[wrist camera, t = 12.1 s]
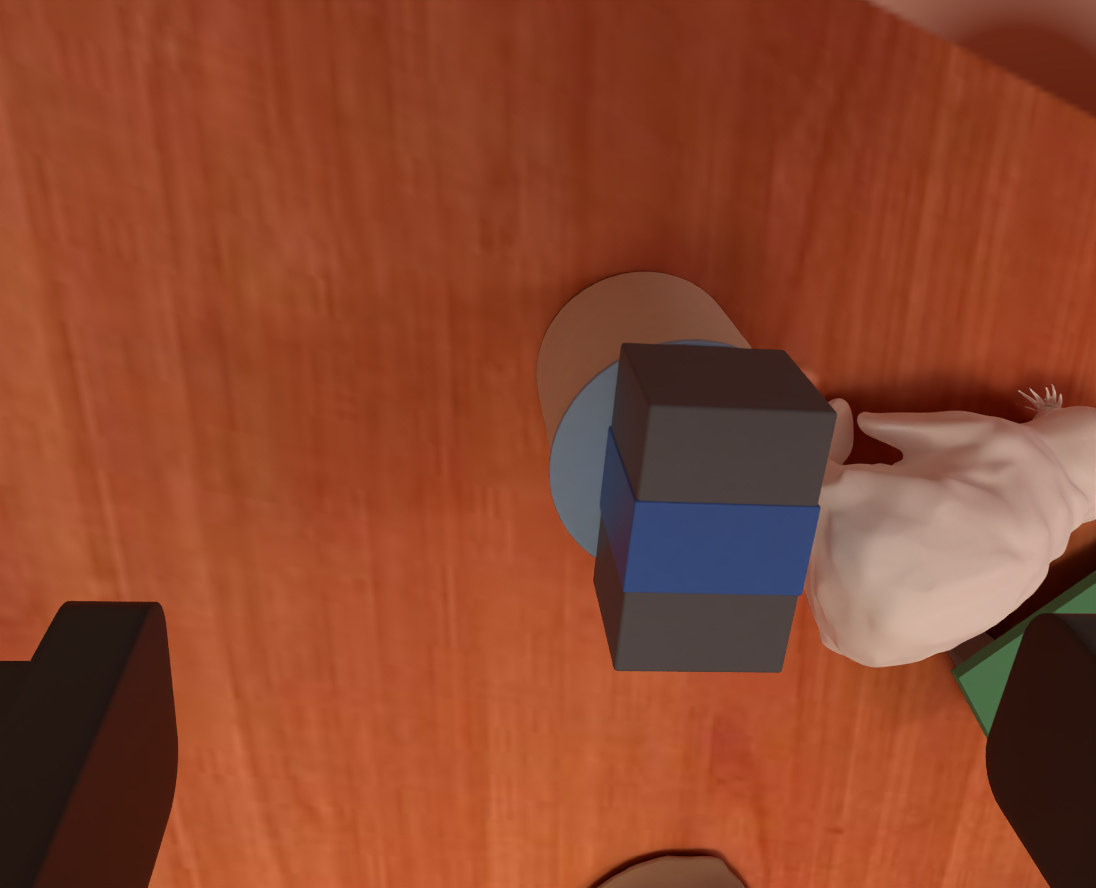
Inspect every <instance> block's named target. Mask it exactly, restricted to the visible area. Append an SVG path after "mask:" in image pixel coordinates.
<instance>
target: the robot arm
mask: <svg viewBox="0 0 1096 888" xmlns="http://www.w3.org/2000/svg"><path fill="white" fill-rule="evenodd" d="M177 766H178V736H177V726H176V716H175V706H174V697H173V687H172V677H171V667H170V658H169V648H168V638H167V628H166V621H165V615H164V612H163V609H162V606H161V605H160V604H159V603H158V602H109V601H67V602H66V603H64V604H63V605H62V606H61V607H60V609H59V610H58V612H57V613H56V615H55V617H54V619H53V621H52V622H51V624H50V626H49V628H48V630H47V632H46V633H45V635H44V637H43V639H42V641H41V642H40V644H39V646H38V648H37V650H36V651H35V653H34V655H33V657H32V659H31V661H0V888H148V885H149V882H150V879H151V875H152V872H153V869H154V865H155V862H156V859H157V855H158V852H159V849H160V845H161V842H162V839H163V835H164V832H165V829H166V825H167V822H168V819H169V815H170V811H171V808H172V803H173V798H174V792H175V786H176V778H177ZM986 768H987V775H988V779H989V784H990V787H991V790H992V793H993V795H994V797H995V800H996V802H997V804H998V805H999V807H1000V809H1001V810H1002V812H1003V813H1004V815H1005V817H1006V818H1007V820H1008V821H1009V823H1010V825H1011V826H1012V828H1013V829H1014V831H1015V832H1016V834H1017V836H1018V837H1019V839H1020V840H1021V842H1022V843H1023V845H1024V847H1025V848H1026V850H1027V851H1028V853H1029V854H1030V856H1031V858H1032V859H1033V861H1034V862H1035V864H1036V866H1037V867H1038V869H1039V870H1040V872H1041V873H1042V875H1043V877H1044V878H1045V880H1046V881H1047V883H1048V884H1049V886H1050V888H1096V614H1092V613H1043V614H1039V615H1038V616H1036V617H1034V618H1033V619H1032V620H1031V621H1030V622H1029V624H1028V626H1027V627H1026V629H1025V631H1024V634H1023V636H1022V639H1021V642H1020V645H1019V648H1018V651H1017V654H1016V657H1015V659H1014V662H1013V665H1012V668H1011V671H1010V674H1009V677H1008V680H1007V683H1006V685H1005V688H1004V691H1003V694H1002V697H1001V700H1000V703H999V706H998V709H997V711H996V714H995V717H994V720H993V723H992V726H991V729H990V732H989V735H988V739H987V745H986Z"/></svg>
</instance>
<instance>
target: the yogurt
mask: <svg viewBox="0 0 1096 888" xmlns="http://www.w3.org/2000/svg"><path fill="white" fill-rule="evenodd" d="M622 343H643V344H664V345H686V346H707V347H728V348H749V349H752V348H751V346H750V345H749V344H748V342H747V341H746V340H745V339H744V337H743V336H742V335H741V333H740V332H739V331H738V329H737V328H736V327H735V325H734V324H733V323H732V322H731V320H730V319H729V318H728V316H727V315H726V314H725V312H724V311H723V310H722V308H721V307H720V306H719V305H718V304H717V303H716V302H715V300H714V299H713V298H712V297H711V296H710V295H708V294H707V293H706V292H705V291H703V290H702V289H701V288H699V287H697V286H696V285H694V284H692V283H691V282H689V281H686V280H684V279H681V278H679V277H676V276H672V275H669V274H665V273H657V272H632V273H624V274H620V275H616V276H613V277H609V278H607V279H604V280H602V281H599V282H597V283H595V284H593V285H591V286H590V287H588V288H586V289H584V290H583V291H582V292H580V293H579V294H578V295H576V296H575V297H574V298H572V299H571V300H570V301H569V302H568V303H567V304H566V305H565V306H564V307H563V308H562V309H561V311H560V312H559V313H558V314H557V316H556V317H555V318H554V320H553V321H552V323H551V325H550V326H549V328H548V329H547V332H546V334H545V336H544V338H543V341H542V343H541V347H540V350H539V354H538V360H537V368H536V380H537V388H538V394H539V399H540V404H541V408H542V413H543V418H544V423H545V428H546V433H547V437H548V442H549V447H550V457H549V480H550V488H551V494H552V497H553V501H554V504H555V508H556V510H557V512H558V514H559V517H560V519H561V521H562V523H563V524H564V526H565V527H566V529H567V530H568V532H569V533H570V535H571V536H572V537H573V538H574V539H575V540H576V542H577V543H578V544H579V545H580V546H581V547H582V548H583V549H585V550H586V551H587V552H588V553H589V554H590V555H592V556H593V557H595V558H596V553H597V545H598V536H599V528H600V519H601V510H600V498H601V489H602V480H603V472H604V463H605V455H606V446H607V437H608V429H609V426H611V425H612V417H613V408H614V400H615V391H616V383H617V374H618V366H619V357H620V349H621V345H622Z"/></svg>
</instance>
